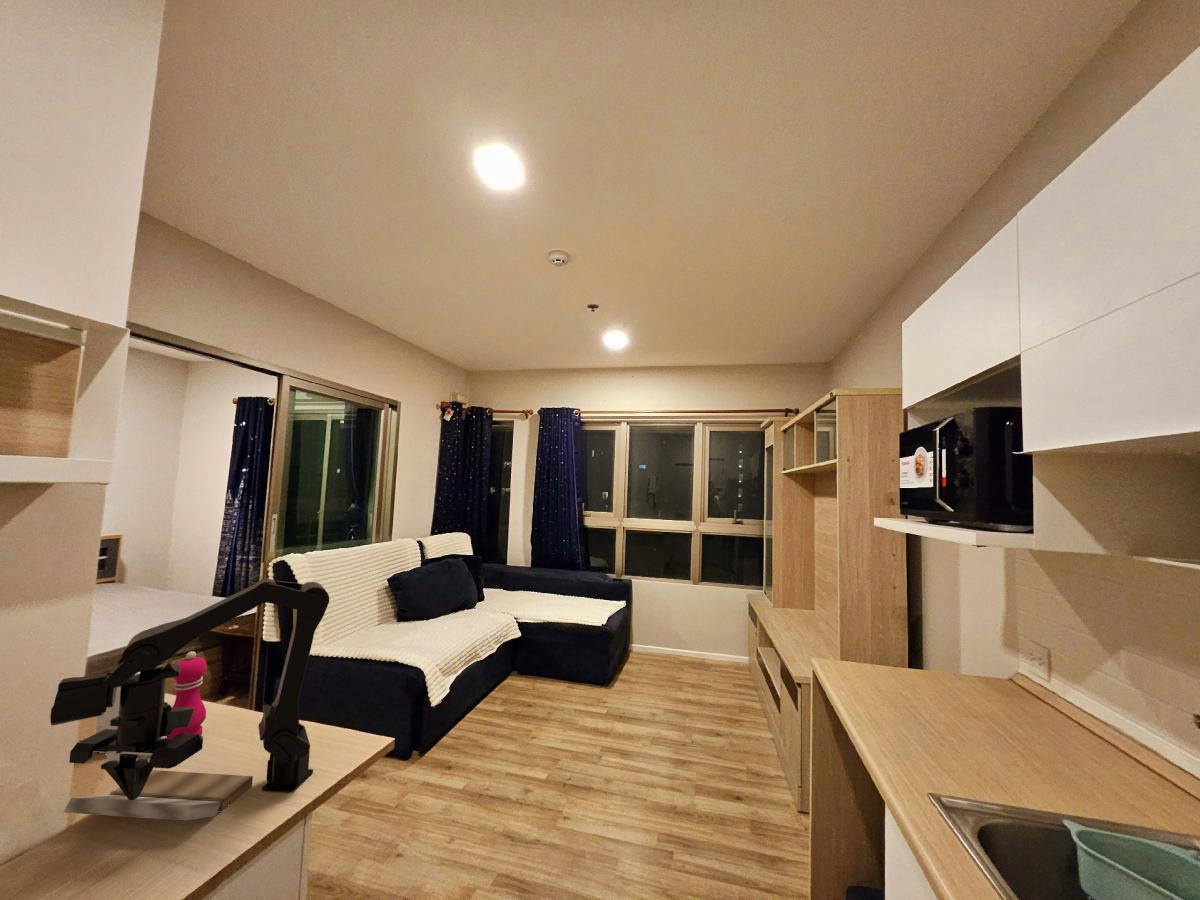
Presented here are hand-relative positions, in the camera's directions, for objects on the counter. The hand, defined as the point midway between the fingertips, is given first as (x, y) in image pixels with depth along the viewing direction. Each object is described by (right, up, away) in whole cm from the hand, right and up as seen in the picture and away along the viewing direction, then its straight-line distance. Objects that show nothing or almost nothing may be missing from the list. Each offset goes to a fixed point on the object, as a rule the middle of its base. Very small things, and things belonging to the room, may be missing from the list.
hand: (134, 798), depth 80 cm
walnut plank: (0, -6, +9) cm, 11 cm away
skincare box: (-27, -7, +25) cm, 37 cm away
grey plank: (0, -4, +1) cm, 4 cm away
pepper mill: (-16, -7, +27) cm, 32 cm away
